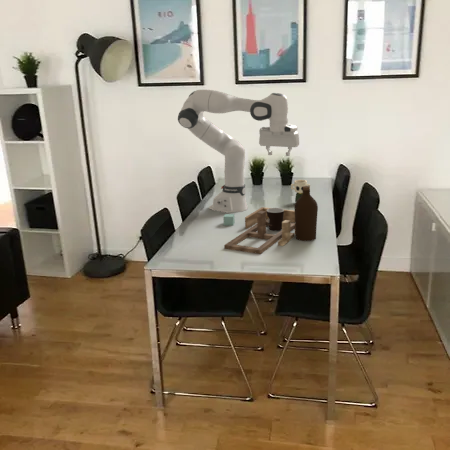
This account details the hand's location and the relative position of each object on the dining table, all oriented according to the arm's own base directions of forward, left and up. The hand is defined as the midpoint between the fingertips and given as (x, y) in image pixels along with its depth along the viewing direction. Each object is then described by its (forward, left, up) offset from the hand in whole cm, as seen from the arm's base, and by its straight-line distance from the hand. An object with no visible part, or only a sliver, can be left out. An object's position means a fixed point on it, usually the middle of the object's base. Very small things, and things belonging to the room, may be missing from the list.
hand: (278, 155), depth 255 cm
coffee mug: (+2, -9, -35) cm, 37 cm away
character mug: (-4, +41, -35) cm, 54 cm away
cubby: (+2, +4, -35) cm, 35 cm away
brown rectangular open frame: (+2, -26, -35) cm, 44 cm away
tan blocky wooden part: (+14, -26, -35) cm, 46 cm away
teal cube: (-23, -12, -35) cm, 44 cm away
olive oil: (+21, -18, -35) cm, 45 cm away
